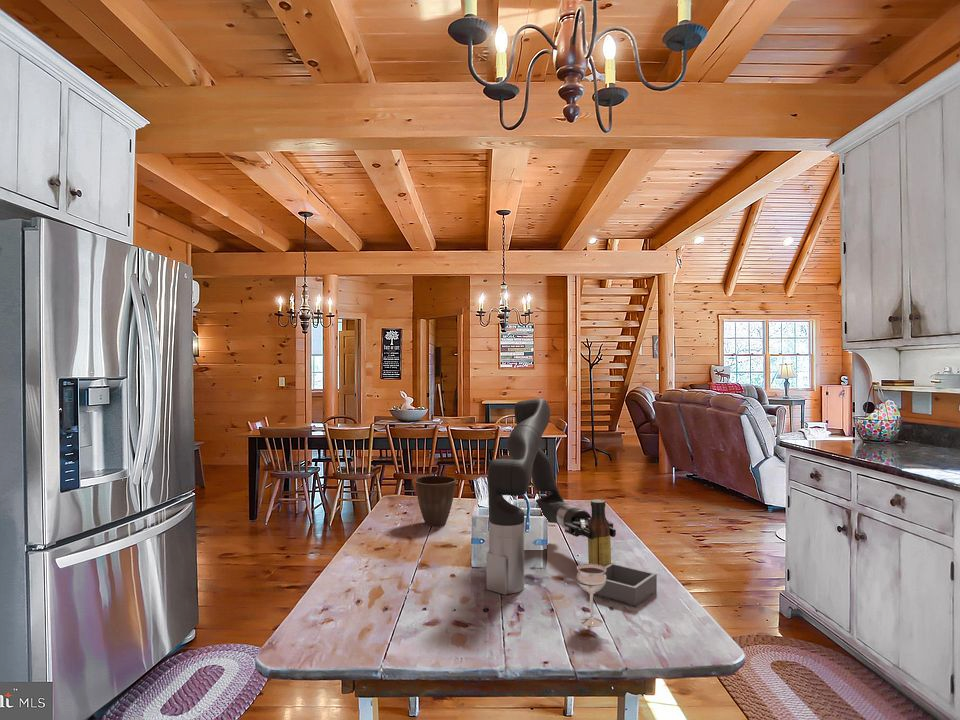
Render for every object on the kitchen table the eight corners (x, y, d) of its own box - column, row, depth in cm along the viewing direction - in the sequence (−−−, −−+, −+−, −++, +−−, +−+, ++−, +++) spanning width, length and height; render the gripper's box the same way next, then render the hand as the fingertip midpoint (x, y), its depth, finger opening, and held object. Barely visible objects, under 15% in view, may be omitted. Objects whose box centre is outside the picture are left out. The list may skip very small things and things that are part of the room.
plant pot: (454, 529, 207) (455, 484, 207) (412, 529, 207) (412, 483, 207) (457, 518, 222) (457, 475, 222) (417, 518, 222) (417, 475, 222)
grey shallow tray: (635, 607, 142) (635, 588, 142) (588, 594, 150) (588, 576, 150) (656, 591, 152) (656, 573, 152) (611, 580, 160) (611, 563, 160)
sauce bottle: (612, 569, 168) (613, 499, 168) (609, 576, 162) (610, 504, 162) (589, 566, 170) (589, 497, 170) (585, 573, 164) (586, 502, 164)
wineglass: (600, 631, 130) (600, 576, 130) (571, 623, 133) (571, 570, 133) (611, 619, 135) (611, 567, 135) (583, 612, 139) (583, 561, 139)
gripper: (552, 509, 177) (581, 523, 162) (594, 505, 182) (626, 518, 167) (552, 534, 177) (581, 551, 161) (594, 529, 182) (626, 545, 167)
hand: (603, 534), depth 164 cm, fingers closed on sauce bottle, 6 cm apart
